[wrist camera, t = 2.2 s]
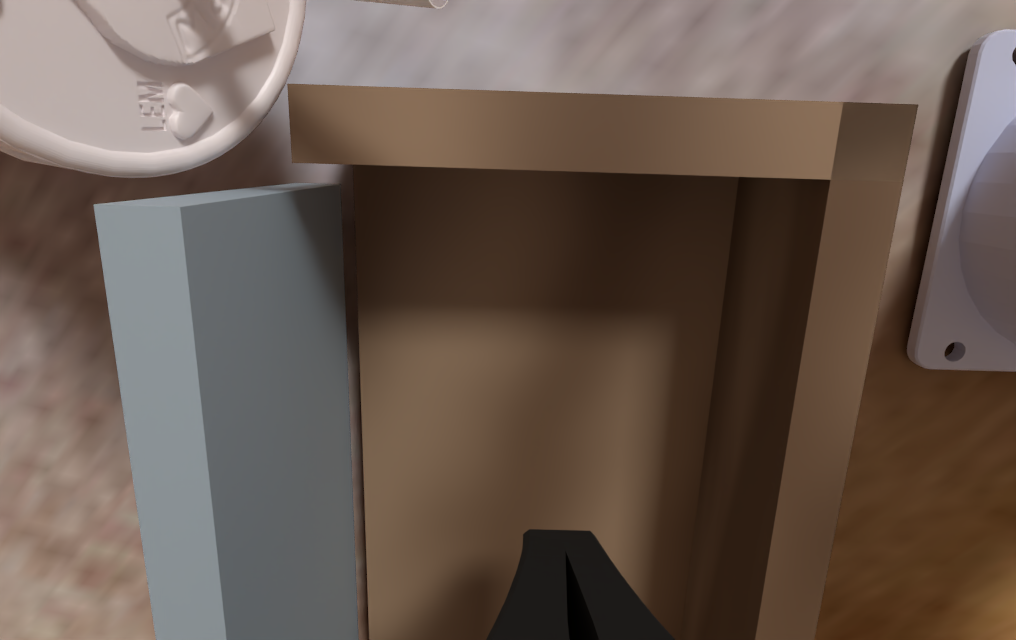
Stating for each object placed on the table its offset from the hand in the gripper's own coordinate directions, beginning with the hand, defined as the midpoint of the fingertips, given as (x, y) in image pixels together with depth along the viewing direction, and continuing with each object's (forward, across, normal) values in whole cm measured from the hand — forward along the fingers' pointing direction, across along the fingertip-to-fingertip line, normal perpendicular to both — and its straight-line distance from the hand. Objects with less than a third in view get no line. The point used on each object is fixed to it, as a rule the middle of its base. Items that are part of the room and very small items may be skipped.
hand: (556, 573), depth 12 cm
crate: (+5, 0, 0) cm, 5 cm away
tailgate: (+4, +5, 0) cm, 6 cm away
